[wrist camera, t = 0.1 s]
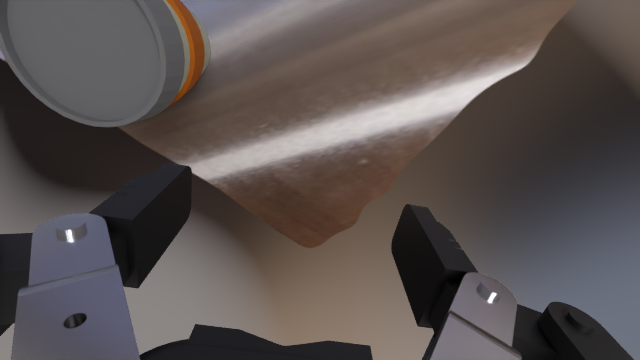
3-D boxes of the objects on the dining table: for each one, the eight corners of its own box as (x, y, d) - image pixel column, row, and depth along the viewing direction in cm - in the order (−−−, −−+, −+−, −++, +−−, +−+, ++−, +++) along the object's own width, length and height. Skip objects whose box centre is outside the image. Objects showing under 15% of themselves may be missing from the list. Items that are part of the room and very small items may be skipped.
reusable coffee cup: (188, 118, 39) (120, 160, 26) (97, 46, 35) (-39, 51, 22) (246, 42, 35) (203, 43, 22) (152, -48, 32) (28, -114, 18)
